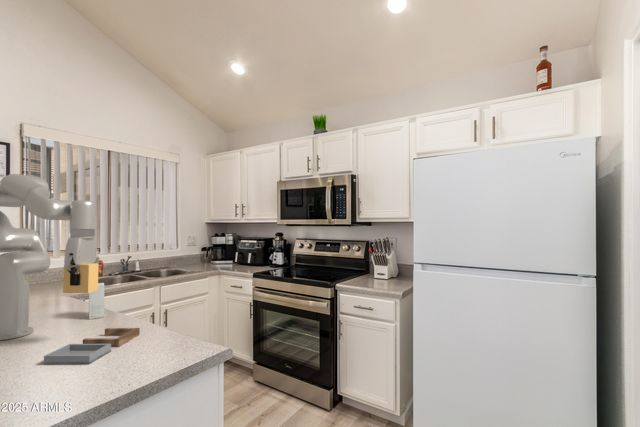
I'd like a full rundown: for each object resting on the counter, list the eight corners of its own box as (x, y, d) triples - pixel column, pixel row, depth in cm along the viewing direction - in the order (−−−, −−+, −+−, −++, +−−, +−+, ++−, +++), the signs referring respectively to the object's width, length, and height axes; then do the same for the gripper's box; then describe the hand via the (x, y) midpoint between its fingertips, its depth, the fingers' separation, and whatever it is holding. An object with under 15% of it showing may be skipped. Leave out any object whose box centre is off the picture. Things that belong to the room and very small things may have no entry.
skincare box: (104, 317, 145) (104, 284, 146) (87, 319, 142) (88, 286, 143) (104, 313, 152) (105, 281, 153) (88, 315, 149) (89, 283, 150)
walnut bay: (82, 346, 110) (82, 339, 110) (106, 334, 122) (106, 328, 122) (118, 346, 110) (119, 339, 110) (139, 334, 122) (139, 327, 122)
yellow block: (61, 292, 114) (62, 264, 115) (72, 290, 119) (73, 263, 120) (88, 293, 114) (88, 265, 115) (97, 290, 119) (98, 263, 120)
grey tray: (43, 364, 96) (44, 355, 96) (69, 351, 106) (69, 343, 106) (89, 364, 96) (89, 355, 96) (110, 351, 106) (111, 343, 106)
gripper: (89, 233, 126) (87, 279, 126) (52, 234, 109) (51, 288, 109) (108, 233, 126) (106, 279, 125) (74, 234, 109) (73, 288, 108)
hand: (80, 283), depth 117 cm, fingers closed on yellow block, 5 cm apart
